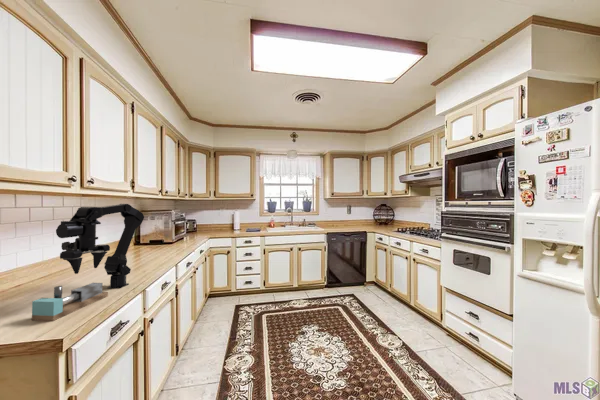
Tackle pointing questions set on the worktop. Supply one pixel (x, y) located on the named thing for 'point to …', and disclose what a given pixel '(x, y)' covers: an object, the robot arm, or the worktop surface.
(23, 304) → the worktop surface
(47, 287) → the worktop surface
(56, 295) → the slip tube
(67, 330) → the worktop surface
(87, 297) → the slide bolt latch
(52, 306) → the socket block
